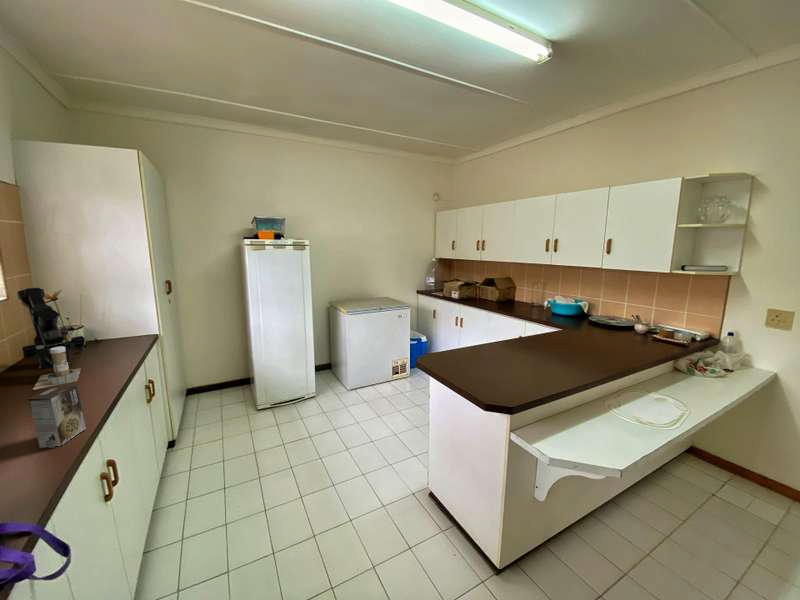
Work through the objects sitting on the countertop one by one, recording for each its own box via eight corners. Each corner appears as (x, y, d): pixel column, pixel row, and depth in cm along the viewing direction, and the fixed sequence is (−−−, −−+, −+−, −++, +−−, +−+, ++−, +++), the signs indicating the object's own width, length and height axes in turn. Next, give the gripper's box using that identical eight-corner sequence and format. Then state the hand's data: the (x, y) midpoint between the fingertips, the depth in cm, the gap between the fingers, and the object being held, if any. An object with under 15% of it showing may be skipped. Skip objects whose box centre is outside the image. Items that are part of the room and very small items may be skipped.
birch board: (41, 377, 147) (40, 375, 147) (81, 370, 155) (80, 368, 155) (33, 392, 133) (32, 389, 133) (77, 383, 141) (77, 380, 141)
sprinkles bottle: (65, 379, 140) (59, 349, 138) (52, 379, 139) (46, 349, 137) (73, 374, 145) (67, 345, 142) (61, 375, 144) (55, 346, 141)
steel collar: (50, 379, 143) (49, 372, 142) (79, 374, 148) (77, 367, 148) (47, 386, 136) (45, 379, 135) (76, 380, 142) (75, 374, 141)
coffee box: (66, 430, 107) (56, 384, 104) (87, 429, 107) (78, 384, 104) (38, 448, 98) (26, 398, 95) (61, 447, 98) (50, 397, 95)
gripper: (17, 327, 132) (27, 359, 128) (80, 318, 147) (91, 346, 143) (18, 342, 138) (28, 373, 134) (78, 332, 153) (89, 359, 149)
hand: (60, 362), depth 140 cm, fingers closed on sprinkles bottle, 4 cm apart
